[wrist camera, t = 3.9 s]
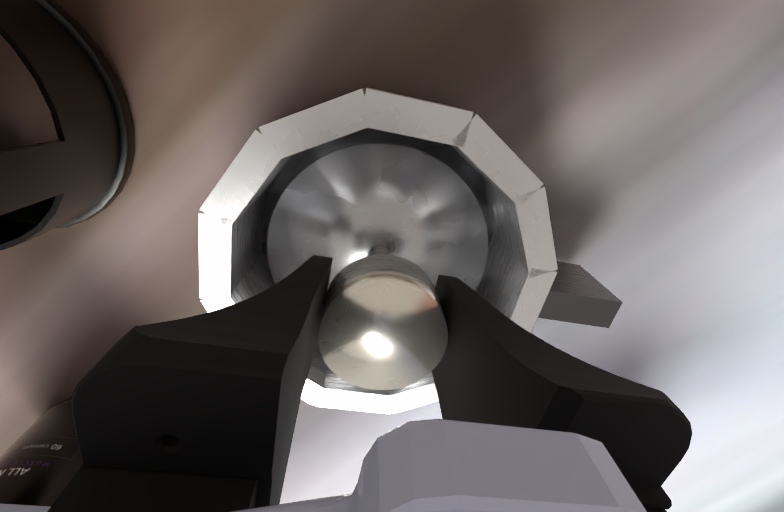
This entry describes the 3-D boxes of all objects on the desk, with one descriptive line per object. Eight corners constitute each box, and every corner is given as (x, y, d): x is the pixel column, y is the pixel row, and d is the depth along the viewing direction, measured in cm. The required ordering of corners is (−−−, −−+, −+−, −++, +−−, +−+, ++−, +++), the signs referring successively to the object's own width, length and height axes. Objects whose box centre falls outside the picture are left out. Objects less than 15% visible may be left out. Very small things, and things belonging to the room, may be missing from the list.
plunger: (513, 166, 14) (601, 217, 9) (452, 348, 18) (487, 463, 12) (278, 118, 13) (214, 143, 8) (264, 323, 16) (213, 438, 11)
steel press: (618, 142, 16) (708, 163, 11) (522, 361, 21) (560, 431, 16) (248, 60, 14) (195, 50, 9) (239, 324, 18) (201, 394, 14)
